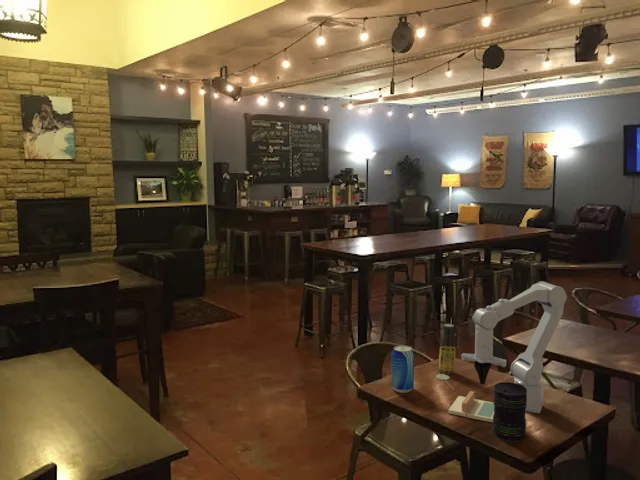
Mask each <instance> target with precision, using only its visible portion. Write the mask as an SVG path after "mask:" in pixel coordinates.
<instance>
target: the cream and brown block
mask: <svg viewBox="0 0 640 480" xmlns="http://www.w3.org/2000/svg"><path fill="white" fill-rule="evenodd" d="M475 401H476V398H475V391H474V390H473V391H472V390H470V391H469V392H468V393H467V395H466V396H463V395H458V396H457V397H456V399H455V400H454V402H453V403H452V404H451V405H450V407H449V409H448V413H447V414H451V415H456V416H460V417H465V418H467V413H468V412H469V410H470V409H471V407H472V406H473V404H474V402H475Z"/></svg>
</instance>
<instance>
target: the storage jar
mask: <svg viewBox="0 0 640 480" xmlns="http://www.w3.org/2000/svg"><path fill="white" fill-rule="evenodd" d="M492 397H493V400H492V401H493V403H494V415H493V423H492V434H493V435H494V437H496V438H497V439H500V440H503V441H505V442H515V443H516V442H520V441H523V440H524V439H525V438H526V429H527V419H526V411H525V409H526V406H527V404H526V403H527V389H526V388H525V387H524V386H522V385H519V384H516V383H514V382H508V381H507V382H498V383H496V384H495V385H494V386H493V396H492Z"/></svg>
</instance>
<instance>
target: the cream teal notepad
mask: <svg viewBox="0 0 640 480" xmlns="http://www.w3.org/2000/svg"><path fill="white" fill-rule="evenodd" d="M475 399H476V398H475ZM493 415H494V402H492V401H486V400H482V399H476V401H475V402H474V404H473V406H472V407H471V409H470V410H469V412H468V413H467V416H466V418H469V419H473V420H479V421H483V422H488V423H492V424H493Z"/></svg>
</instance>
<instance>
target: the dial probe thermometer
mask: <svg viewBox="0 0 640 480" xmlns="http://www.w3.org/2000/svg"><path fill="white" fill-rule="evenodd" d="M450 377H451V376H449V374H448V375H446V374H442V373H438V374H436V376H435V378H436V379H437V380H439V381H445V382H446V384H447V385H448V386H449V387H450V388H451V389H452V390H454V391H455V388H454V387H452V385H451V384H450V383H449V382H448V380H450Z"/></svg>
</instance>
